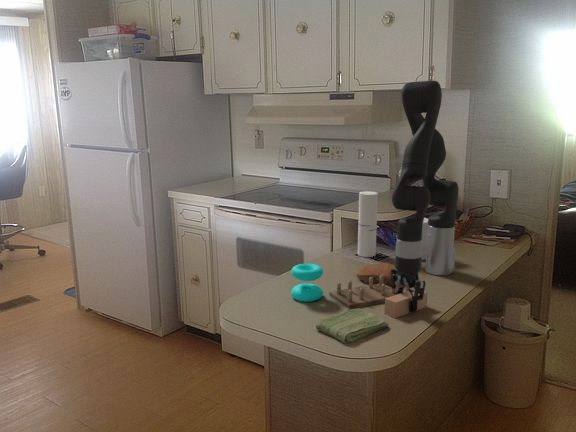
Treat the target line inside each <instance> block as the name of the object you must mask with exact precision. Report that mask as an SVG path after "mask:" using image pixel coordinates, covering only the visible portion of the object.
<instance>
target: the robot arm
mask: <svg viewBox="0 0 576 432" xmlns="http://www.w3.org/2000/svg"><path fill="white" fill-rule="evenodd" d="M442 92H443V91H442V87H441V84H440V83H439V81H437V80H421V81H411V82H406V83H405V84H404V85H403V86H402V89H401V103H402V106H403V111H404V113H405V116H406V119H407V122H408V125H409V128H410V131H411V135H412V137H411V138H410V139H409V141H408V142H407V145H406V147H405V148H404V154H403V160H402V168H401V172H400V175H399V178H398V181H397V183H396V185H395V188H394V190H393V192H392V195H391V202H392V206H393V207H394V208H395V210H399V211H413V212H415V215H413V216H407V217H401V218H400V219H398V221H397V227H396V228H397V229H396V244H395V252H394V253H395V255H394V256H395V258H394V265H395V268H396V269H391V285H390V287H391V288H392V289H395V292H396V295H397V294H400V293H404V292H407V293H408V294H409V298H410V300H409V312H411V313H417V311H418V310H417V301H418V300H422V299H423V296H424V291H426V289H425V287H426V283H427V282H426V281H425V280H420V278H419V272H420V271H421V270H422V261H423V260H422V227H423V221H424V218H426V217H425V216H426V213H427V211H428V208H429V206H434V207H443V208H444V211H443V212H441V213H436V214H433V215H430V216H428V218H427V219H428V233H427V251H426V259H425V269H424V270H425V272H426V273H427V274H430V275H436V276H448V275H451V274H452V273H454V272H455V263H456V251H457V250H456V246H455V245H454V244H455V243H454V241H455V230H456V229H455V228H456V218H457V207H458V199H459V185H458V183H457V182H456V181H453V180H445V179H436V173H437V172H438V171H439V169H441V167H442V165H443V164H444V161H446V157H447V150H446V145H445V140H444V137H443V135H442V134H441V132H439V131H438V130H437V129H436V126H437V122H438V118H439V114H440V110H441V106H442V98H443V93H442ZM423 114H425V117H424V116H423ZM416 181H418V182H419V181H422V184H423V185H422V186H415V185H410V184H411V183H413V182H416ZM396 280H397V282H396V284H395V281H396ZM405 289H406V291H405ZM412 292H414V296H413V294H412ZM418 294H420V295H418Z"/></svg>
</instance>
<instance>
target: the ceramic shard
mask: <svg viewBox="0 0 576 432" xmlns="http://www.w3.org/2000/svg"><path fill="white" fill-rule="evenodd" d="M391 269H396V268H395V264H391V263H386V262H384V263H371V264H367V265H365V266H361V267H359V268H358V269H356V271H355V273H356V274H355V275H356V277H357V279H358V280H359V281H362V282H363V283H365V284H369V278H370V277H373V284H379V283H380V276H381V275H382V276H384V277H383V284H385V285H387V286H391ZM395 282H397V280H396V281H395Z"/></svg>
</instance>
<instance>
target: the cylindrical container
mask: <svg viewBox="0 0 576 432" xmlns="http://www.w3.org/2000/svg"><path fill="white" fill-rule="evenodd" d="M377 226H378V192H377V191H365V190H364V191H360V192H358V227H357V230H358V231H357V255H358V256H359V257H362V258H373V256H374V257H376V254H377V253H376V252H377Z"/></svg>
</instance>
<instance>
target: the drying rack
mask: <svg viewBox="0 0 576 432" xmlns="http://www.w3.org/2000/svg"><path fill="white" fill-rule="evenodd" d="M383 277H384V276H382V275H381V276H380V283H373V277H370V278H369V283H368V285H364V286H357V287H353V285H352V284H353V281H352V280H348V281H347V289H346V288H344V289H342V283H341V282H337V283H336V290H333V291H329V297H331V298H332V299H333V300H335V301H336V302H338V303H340V305H342V306H344V307H345V308H347V310H351V309H357V308H360V307H365V306H371V305H376V304H382V303H385V298H388V297H391V296H394V295H396V292H395V289H392V287H391V286H390V285H388V284H383ZM395 284H396V282H395Z"/></svg>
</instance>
